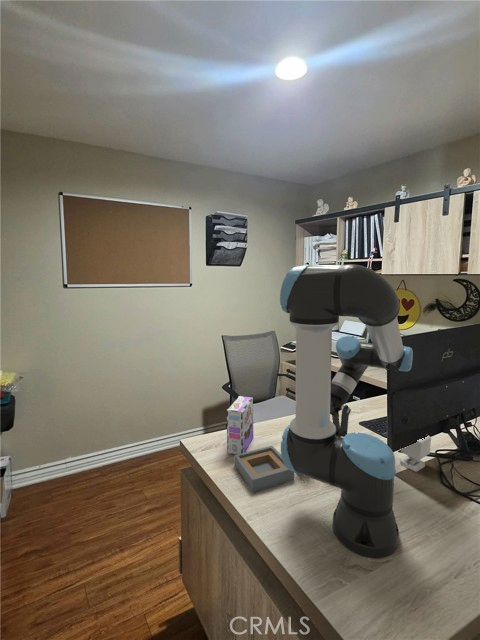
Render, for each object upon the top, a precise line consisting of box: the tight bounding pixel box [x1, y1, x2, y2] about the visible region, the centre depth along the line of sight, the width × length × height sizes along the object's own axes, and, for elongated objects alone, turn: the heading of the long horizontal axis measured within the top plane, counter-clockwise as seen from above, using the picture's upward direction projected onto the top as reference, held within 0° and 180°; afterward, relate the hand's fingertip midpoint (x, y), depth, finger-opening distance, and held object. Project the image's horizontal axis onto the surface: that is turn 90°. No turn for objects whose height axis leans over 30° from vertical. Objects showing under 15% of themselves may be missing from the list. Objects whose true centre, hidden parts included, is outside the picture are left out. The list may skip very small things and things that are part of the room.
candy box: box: [226, 395, 254, 455], centre depth 119 cm, size 14×6×16 cm, turn 161°
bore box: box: [234, 445, 295, 493], centre depth 104 cm, size 14×14×4 cm
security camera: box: [399, 435, 432, 473], centre depth 107 cm, size 6×7×10 cm
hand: (307, 442), depth 107 cm, fingers open, 13 cm apart
